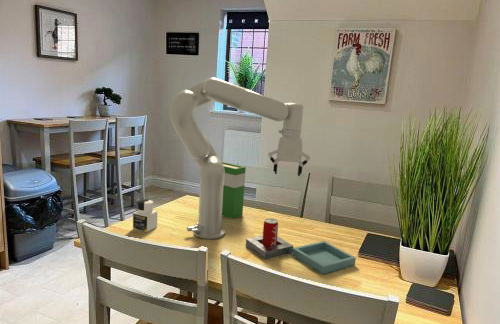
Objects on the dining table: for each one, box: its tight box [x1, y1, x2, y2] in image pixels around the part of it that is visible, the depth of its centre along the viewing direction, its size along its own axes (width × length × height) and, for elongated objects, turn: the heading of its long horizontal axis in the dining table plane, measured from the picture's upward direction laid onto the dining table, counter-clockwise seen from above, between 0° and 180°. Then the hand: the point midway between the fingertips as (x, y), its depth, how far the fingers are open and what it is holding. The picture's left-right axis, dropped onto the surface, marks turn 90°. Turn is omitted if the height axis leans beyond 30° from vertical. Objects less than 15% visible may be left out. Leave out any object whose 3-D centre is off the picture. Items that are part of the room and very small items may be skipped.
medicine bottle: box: [132, 198, 158, 233], centre depth 150 cm, size 7×7×12 cm
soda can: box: [262, 217, 279, 248], centre depth 137 cm, size 6×6×12 cm
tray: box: [291, 240, 357, 276], centre depth 132 cm, size 16×16×3 cm
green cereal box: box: [221, 161, 246, 220], centre depth 174 cm, size 18×7×24 cm, turn 54°
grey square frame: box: [245, 235, 294, 261], centre depth 138 cm, size 13×13×3 cm
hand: (287, 174), depth 150 cm, fingers open, 9 cm apart
